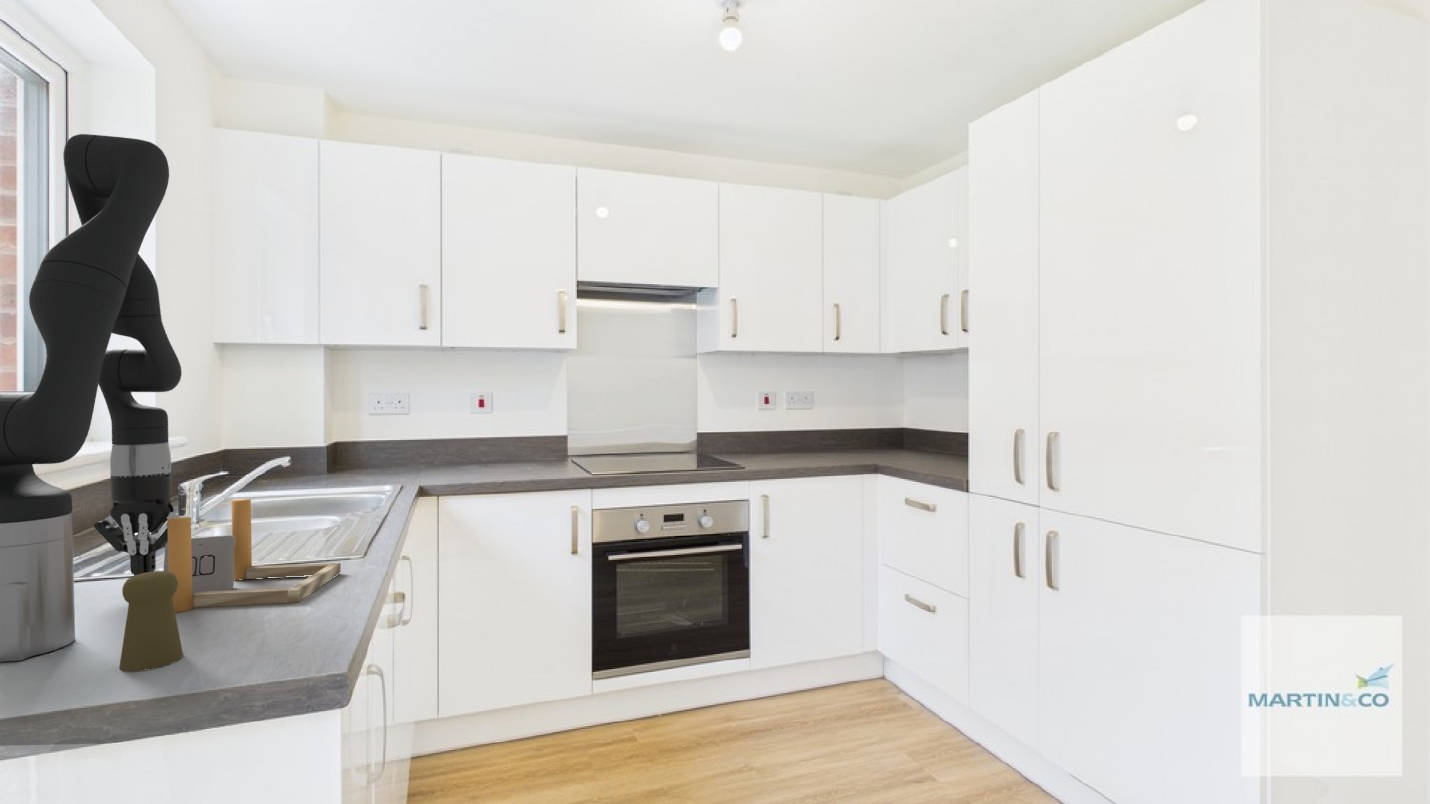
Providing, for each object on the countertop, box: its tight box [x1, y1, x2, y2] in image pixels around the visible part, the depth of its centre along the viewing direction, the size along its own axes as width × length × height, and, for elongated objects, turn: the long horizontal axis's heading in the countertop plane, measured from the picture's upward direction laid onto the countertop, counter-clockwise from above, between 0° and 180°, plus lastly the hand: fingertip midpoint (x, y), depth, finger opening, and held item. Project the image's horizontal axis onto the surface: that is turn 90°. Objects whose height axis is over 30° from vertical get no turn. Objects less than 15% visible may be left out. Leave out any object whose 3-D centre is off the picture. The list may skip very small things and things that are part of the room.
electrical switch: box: [163, 534, 235, 595], centre depth 110 cm, size 9×5×9 cm, turn 116°
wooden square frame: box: [192, 562, 342, 608], centre depth 112 cm, size 16×15×2 cm
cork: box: [118, 570, 184, 673], centre depth 82 cm, size 6×6×11 cm
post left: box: [166, 516, 194, 614], centre depth 101 cm, size 3×3×14 cm
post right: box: [231, 498, 253, 581], centre depth 118 cm, size 3×3×14 cm
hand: (143, 575), depth 109 cm, fingers closed
